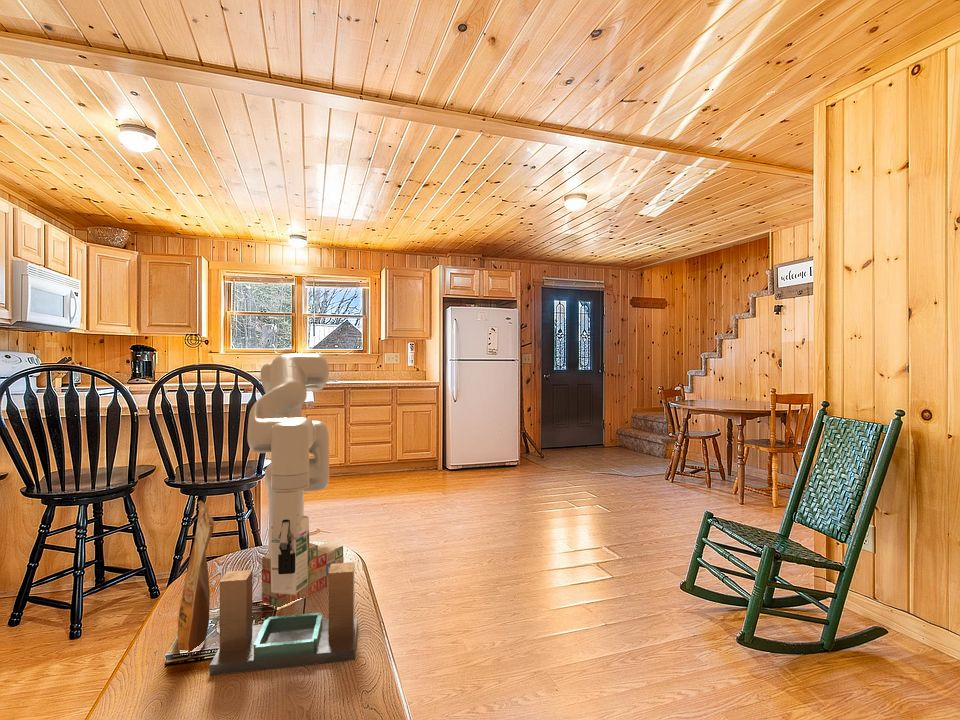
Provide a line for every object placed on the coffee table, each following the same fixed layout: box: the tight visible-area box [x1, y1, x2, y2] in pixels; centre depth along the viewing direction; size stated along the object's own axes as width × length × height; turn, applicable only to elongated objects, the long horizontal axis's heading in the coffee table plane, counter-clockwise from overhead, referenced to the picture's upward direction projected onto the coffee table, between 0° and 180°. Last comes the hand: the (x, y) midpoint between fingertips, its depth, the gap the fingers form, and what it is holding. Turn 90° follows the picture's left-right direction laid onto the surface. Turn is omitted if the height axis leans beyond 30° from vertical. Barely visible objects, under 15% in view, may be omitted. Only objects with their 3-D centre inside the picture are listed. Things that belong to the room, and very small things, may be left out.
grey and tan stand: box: [208, 562, 359, 676], centre depth 107 cm, size 14×27×16 cm, turn 101°
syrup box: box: [270, 515, 310, 595], centre depth 107 cm, size 6×6×14 cm
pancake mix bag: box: [177, 500, 215, 652], centre depth 110 cm, size 7×19×28 cm, turn 27°
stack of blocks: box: [261, 541, 345, 607], centre depth 133 cm, size 21×6×12 cm, turn 149°
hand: (290, 565), depth 106 cm, fingers closed on syrup box, 7 cm apart
